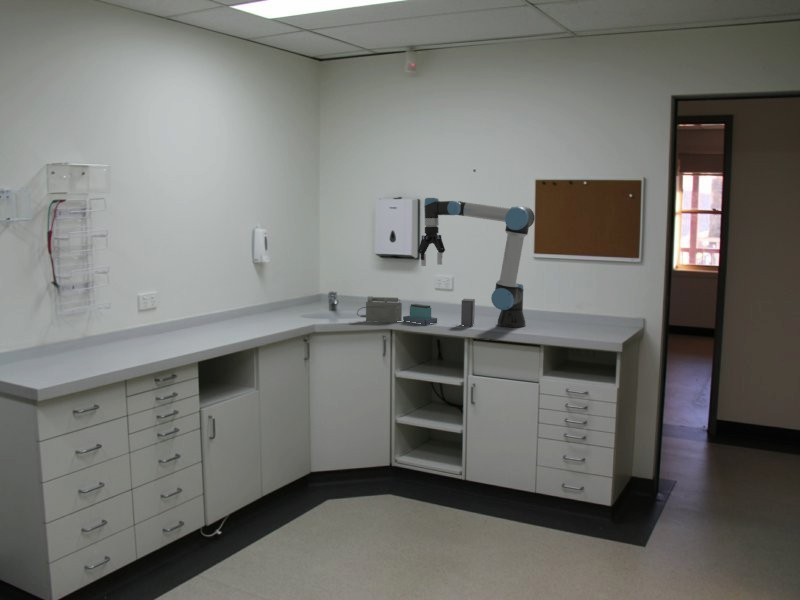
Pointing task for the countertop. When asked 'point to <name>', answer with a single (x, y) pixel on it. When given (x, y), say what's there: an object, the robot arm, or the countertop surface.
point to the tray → (420, 320)
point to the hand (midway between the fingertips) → (431, 265)
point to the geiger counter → (383, 309)
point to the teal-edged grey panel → (420, 311)
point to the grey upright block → (467, 312)
